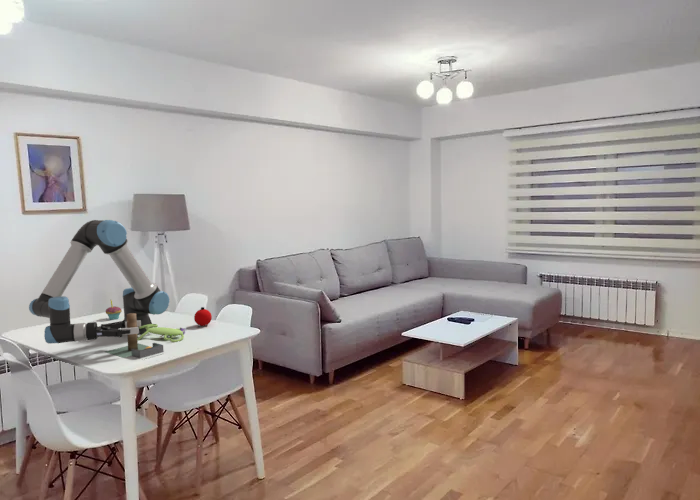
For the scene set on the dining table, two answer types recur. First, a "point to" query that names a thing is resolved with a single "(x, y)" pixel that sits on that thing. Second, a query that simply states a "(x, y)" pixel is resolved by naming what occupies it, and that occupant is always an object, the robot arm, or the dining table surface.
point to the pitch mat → (125, 351)
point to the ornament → (202, 317)
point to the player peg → (132, 337)
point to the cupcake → (113, 312)
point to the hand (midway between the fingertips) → (139, 326)
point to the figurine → (163, 332)
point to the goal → (147, 351)
